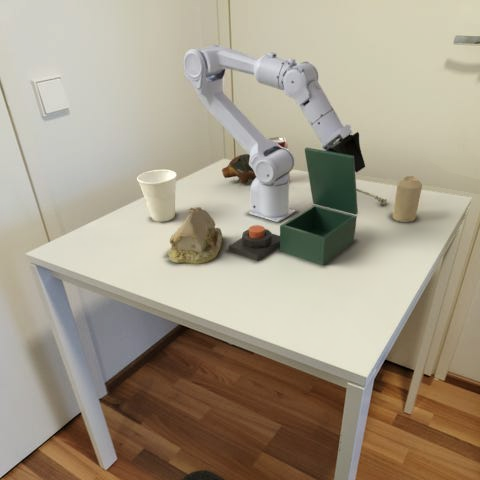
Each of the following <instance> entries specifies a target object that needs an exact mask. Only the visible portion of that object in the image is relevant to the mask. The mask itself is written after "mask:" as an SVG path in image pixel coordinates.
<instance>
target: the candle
mask: <svg viewBox="0 0 480 480" xmlns="http://www.w3.org/2000/svg"><path fill="white" fill-rule="evenodd" d="M422 188H423V184H422V182H421V181H420V180H419V179H418V178H417V177H415V176H414V175H410V176H409V175H408V176H405V177H403V178H402V179H401V180H399V181H398V182H397V186H396V192H395V198H394V204H393V210H392V219H393V220H395V221H396V222H401V223H410V222H413V221H415V220H416V218H417V212H418V208H419V203H420V198H421V193H422Z"/></svg>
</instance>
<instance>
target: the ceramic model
mask: <svg viewBox="0 0 480 480" xmlns="http://www.w3.org/2000/svg"><path fill="white" fill-rule="evenodd" d="M222 232H223V231H222V230H221V228H220V227H216V222H215V220H214V219H213V217H212V216H211V215H210V213H209V212H208V211H207V210H205V209H203V208H202V207H201V206H196V207H191V208H189V210H188V215H187V217H186V218H185V220H183V223H182V224H181V225H180V226H179V227H178V228H177V230H176V231H175V232H174V233H173V234H172V235H171V236H170V238H169V243H170V244H171V245H170V246H171V247H170V249H168V252H167V256H168V258H169V260H170V261H171V262H172V263H176V264H177V263H178V264H179V263H184V264H185V263H187V264H204V263H207V262H209V261H212V260H213V259H215V258H216V257H217V256H218V253H219V252H220V249H221V247H222V244H223V243H222V242H223V233H222Z"/></svg>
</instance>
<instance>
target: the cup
mask: <svg viewBox="0 0 480 480" xmlns="http://www.w3.org/2000/svg"><path fill="white" fill-rule="evenodd" d="M177 176H178V174H177V172H176V171H174V170H172V169H171V170H170V169H154V170H148V171H145V172H142V173H140V174H139V175H138V176H137V177H136V180H137V182H138V184H139V186H140V189H141V192H142V194H143V197H144V201H145V203H146V206H147V209H148V212H149V215H150V218H151V219H152V220H153V221H155V222H157V223H158V222H159V223H163V222H169V221H171V220H173V219H174V218H175V216H176V190H177Z"/></svg>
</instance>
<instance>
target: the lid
mask: <svg viewBox="0 0 480 480" xmlns="http://www.w3.org/2000/svg"><path fill="white" fill-rule="evenodd" d="M304 155H305V161H306V168H307V172H308V173H307V175H308V180H309V185H310V186H309V187H310V192H311V199H312V204H313V205H317V206H321V207H325V208H328V209H332V210H336V211H340V212H344V213H348V214H352V215H356V216H358V213H359V209H358V195H357V193H358V192H357V191H356V188H357V180H356V179H357V178H356V172H355V162H354V156H352V155H346V154H340V153H335V152H329V151H324V150H323V149H317V148H312V147H305V148H304Z"/></svg>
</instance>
